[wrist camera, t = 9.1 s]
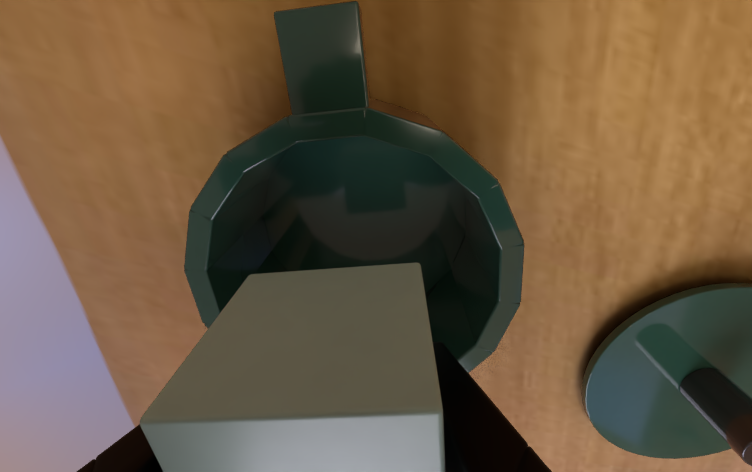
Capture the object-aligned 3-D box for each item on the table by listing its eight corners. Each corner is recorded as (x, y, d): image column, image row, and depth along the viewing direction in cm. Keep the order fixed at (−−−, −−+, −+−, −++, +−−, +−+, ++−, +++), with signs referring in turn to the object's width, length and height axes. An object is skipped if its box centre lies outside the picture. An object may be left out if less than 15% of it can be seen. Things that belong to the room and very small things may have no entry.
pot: (481, 15, 15) (543, -32, 9) (478, 347, 21) (512, 448, 15) (209, 49, 15) (97, 28, 10) (287, 357, 22) (249, 457, 16)
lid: (846, 268, 18) (1005, 331, 13) (767, 439, 23) (863, 530, 18) (590, 285, 19) (654, 350, 14) (566, 446, 24) (608, 533, 19)
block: (420, 260, 9) (443, 409, 5) (428, 393, 11) (450, 587, 7) (248, 273, 9) (134, 421, 5) (282, 399, 11) (217, 586, 7)
